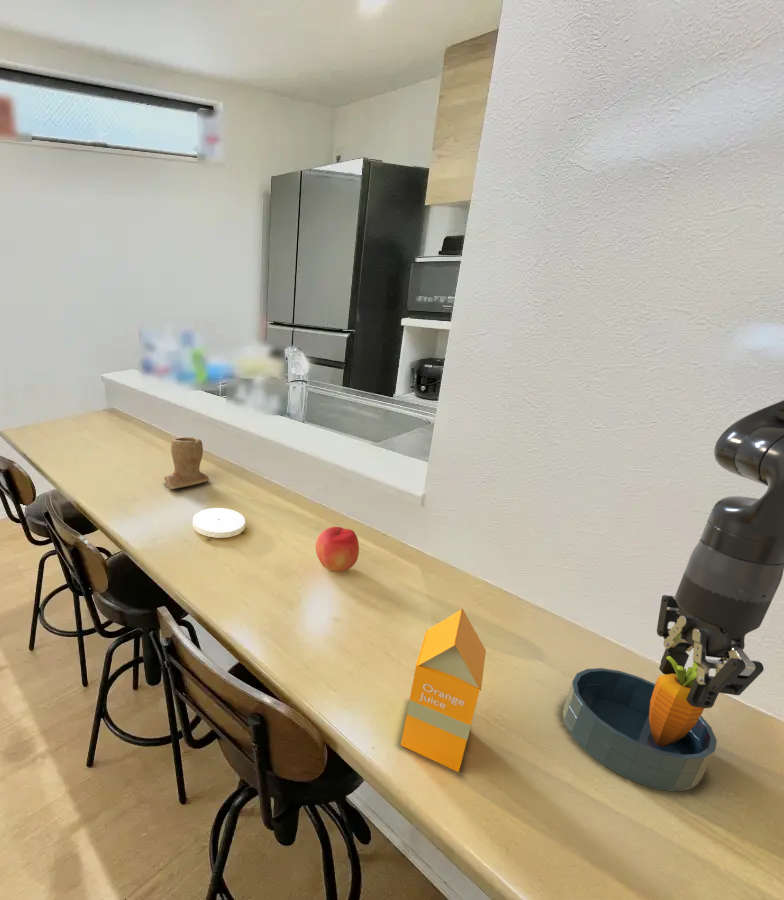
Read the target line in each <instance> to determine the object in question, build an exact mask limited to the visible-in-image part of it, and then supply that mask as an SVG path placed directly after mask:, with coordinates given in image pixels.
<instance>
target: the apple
mask: <svg viewBox="0 0 784 900" xmlns="http://www.w3.org/2000/svg"><path fill="white" fill-rule="evenodd" d="M314 547H315V553H316V556H317V559H318V561H319V562H320V564H321V565H322V567H323V568H324V569H326V570H327V571H329V572H334V573H335V572H336V573H337V572H344V571H345V572H346V571H348V570H349V569H351V568H352V567H353V566H354V565H355V564H356V563H357V561H358V559H359V555H360V544H359V539H358V536H357V534H356V532H355V531H354V530H352V529H350V528H344V527H341V526H331V527H327V528H326V529H323V530H322V531H321V532H320V533H319V534H318V536H317V538H316V540H315V545H314Z"/></svg>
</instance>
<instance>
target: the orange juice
mask: <svg viewBox="0 0 784 900" xmlns="http://www.w3.org/2000/svg"><path fill="white" fill-rule="evenodd" d="M422 639H423V640H422V643H421V646H420V649H419V653H418V657H417V659H416V663H415V666H414V667H415V669H414V673H413V680H412V684H411V685H412V686H411V691H410V695H409V699H408V704H407V710H406V715H405V716H406V717H405V721H404V727H403V731H402V737H401V742H400V746H402V747H404V748H406V749H407V750H410V751H412V752H414V753H416V754H418V755H421V756H423V757H425V758H427V759H429V760H430V761H433V762H435V763H438V764H440V765H442V766H444V767H446V768H448V769H451V770H453V771H454V772H457V773H460V769H461V766H462V761H463V757H464V753H465V750H466V747H467V742H468V739H469V735H470V731H471V727H472V722H473V718H474V714H475V711H476V706H477V703H478V699H479V696H480V692H482V686H483V677H484V671H485V670H484V669H485V663H486V661H485V660H486V654H487V653H486V652H487V650H486V648H485V647H484V644H483V643H482V641H481V639H480V637H479V636H478V634H477V631H476V630H475V629H474V627H473V625H472V623H471V621H470V619H469V618H468V616H467V613H466V612H465V610H464V609H463V608H461V609H460V610H458V611H456V612H454V613H453V614H451V615H450V616H448V617H447V618H444V619H443V620H442V621H440V622H438V623H436V624H435V625H433V626H432V627H430V628H428V629H426V631H425V633H424V637H423V638H422Z"/></svg>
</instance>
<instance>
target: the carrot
mask: <svg viewBox="0 0 784 900" xmlns="http://www.w3.org/2000/svg"><path fill="white" fill-rule="evenodd" d="M666 659H667V660H668V661H669V662H670V663H671V664H672V666H673V668H674V670H675V672H676V674H666V675H665V674H661V675H659V676H658V677H657V679H656V681H655V683H654V684H655V687H654V690H653V694H652V697H651V700H650V710H649V722H650V728H651V734H652V737H653V739H654V742H655V743H656V744H657V745H658V746H666V745H669V744H672V743H675V742H676V741H678V740H680V739H682V738H683V737H684V736H685V735H686V734H687V733H688V732H689V731H690V730H691V729H692V728H693V727H694V726H695V724H696V723H697V721H698V719H699V718H700V716H702V714H703V713H704V710H705V708H700V707H694V706H691V705H690V704H689V703H688V701H687V700H686V699H687V696H688V694H689V692H690V689H691V687H692V685H693V682H694V680H695V679H696V676H697V664H696V663H694V662H692V666H690V667H689V666H688V667H687V668H685V667H683V666H678V664H677V663H676V661H675V660H674V659H673V658H672V657H670V656H668V657H667V658H666ZM696 680H697V679H696Z"/></svg>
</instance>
